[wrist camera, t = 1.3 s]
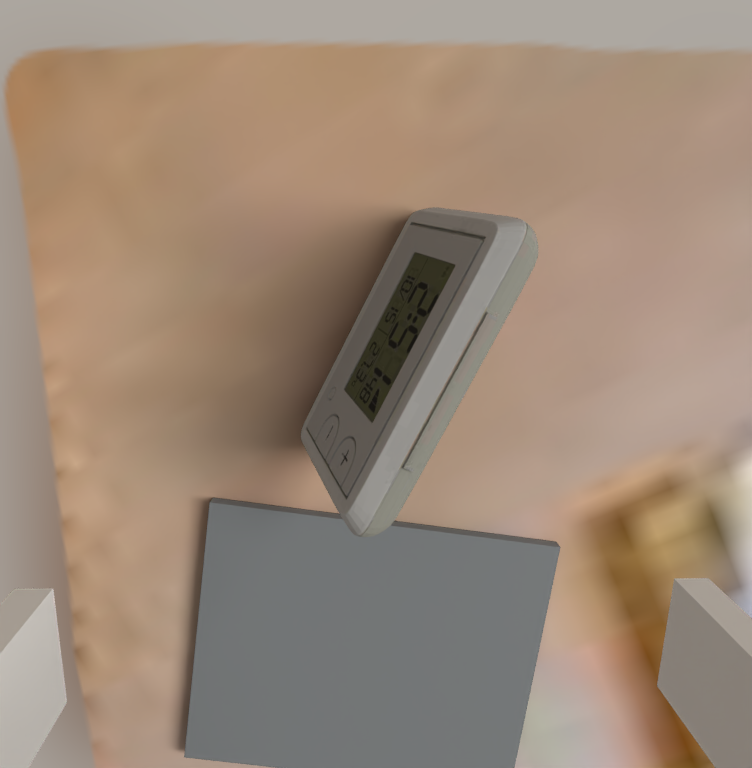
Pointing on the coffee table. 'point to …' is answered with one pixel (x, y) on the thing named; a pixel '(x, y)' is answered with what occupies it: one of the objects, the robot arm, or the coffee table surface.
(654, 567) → the coffee table surface
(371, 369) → the digital clock
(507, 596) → the mat
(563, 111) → the coffee table surface
